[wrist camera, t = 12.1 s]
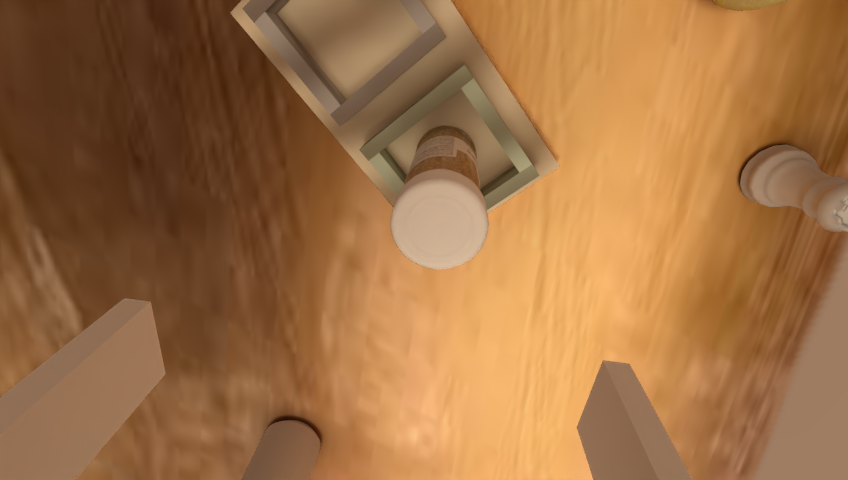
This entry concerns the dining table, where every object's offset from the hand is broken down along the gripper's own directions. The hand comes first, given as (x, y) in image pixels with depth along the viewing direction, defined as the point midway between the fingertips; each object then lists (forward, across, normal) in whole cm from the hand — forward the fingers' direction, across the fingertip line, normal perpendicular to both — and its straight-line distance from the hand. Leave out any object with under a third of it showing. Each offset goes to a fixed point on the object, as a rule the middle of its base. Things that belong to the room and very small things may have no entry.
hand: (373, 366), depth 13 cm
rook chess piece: (+22, +26, +3) cm, 34 cm away
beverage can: (+23, -11, -33) cm, 42 cm away
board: (+23, -2, +5) cm, 23 cm away
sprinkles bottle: (+22, +2, +1) cm, 22 cm away
